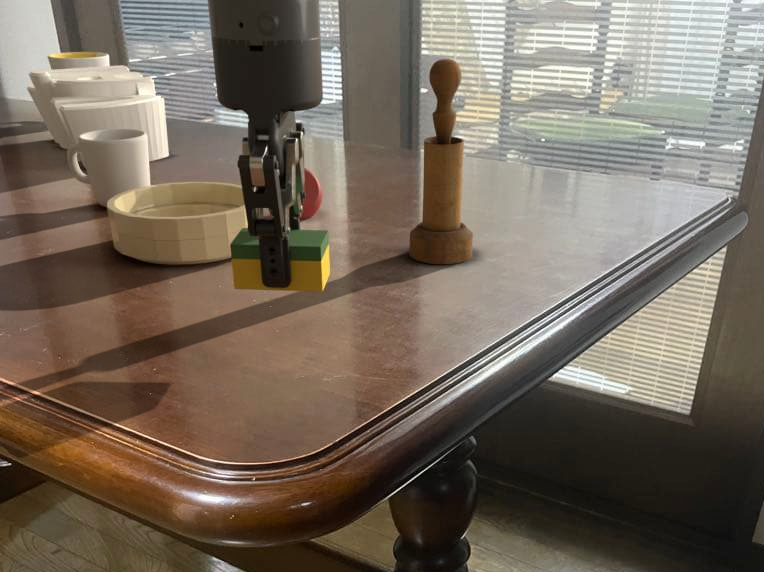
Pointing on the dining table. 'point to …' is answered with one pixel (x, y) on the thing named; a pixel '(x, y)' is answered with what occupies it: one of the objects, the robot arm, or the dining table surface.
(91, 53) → the mug
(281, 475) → the dining table surface
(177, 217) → the bowl
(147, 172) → the cup
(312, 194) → the fruit
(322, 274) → the sponge
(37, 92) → the white wavy slab sculpture
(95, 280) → the dining table surface
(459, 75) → the mortar and pestle
